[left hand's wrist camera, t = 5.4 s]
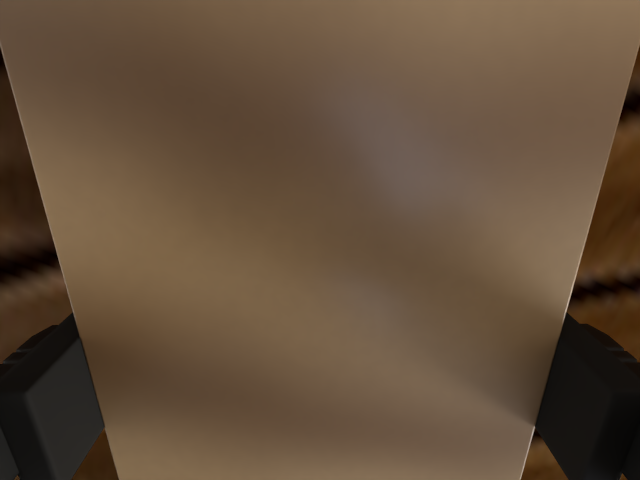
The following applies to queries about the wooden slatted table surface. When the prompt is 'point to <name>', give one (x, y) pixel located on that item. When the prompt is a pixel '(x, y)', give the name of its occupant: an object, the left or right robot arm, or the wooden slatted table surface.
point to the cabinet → (319, 220)
